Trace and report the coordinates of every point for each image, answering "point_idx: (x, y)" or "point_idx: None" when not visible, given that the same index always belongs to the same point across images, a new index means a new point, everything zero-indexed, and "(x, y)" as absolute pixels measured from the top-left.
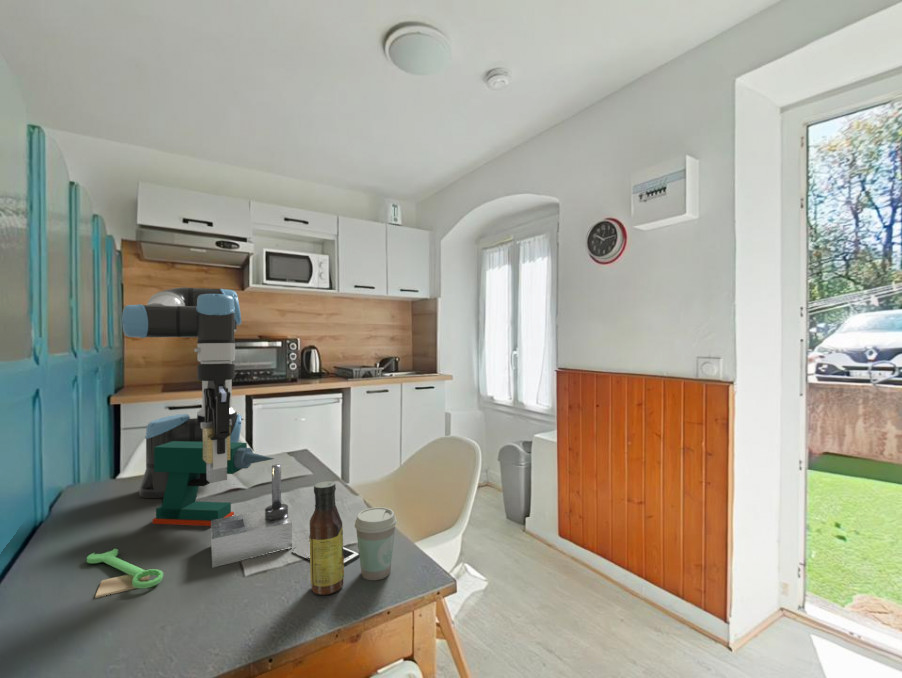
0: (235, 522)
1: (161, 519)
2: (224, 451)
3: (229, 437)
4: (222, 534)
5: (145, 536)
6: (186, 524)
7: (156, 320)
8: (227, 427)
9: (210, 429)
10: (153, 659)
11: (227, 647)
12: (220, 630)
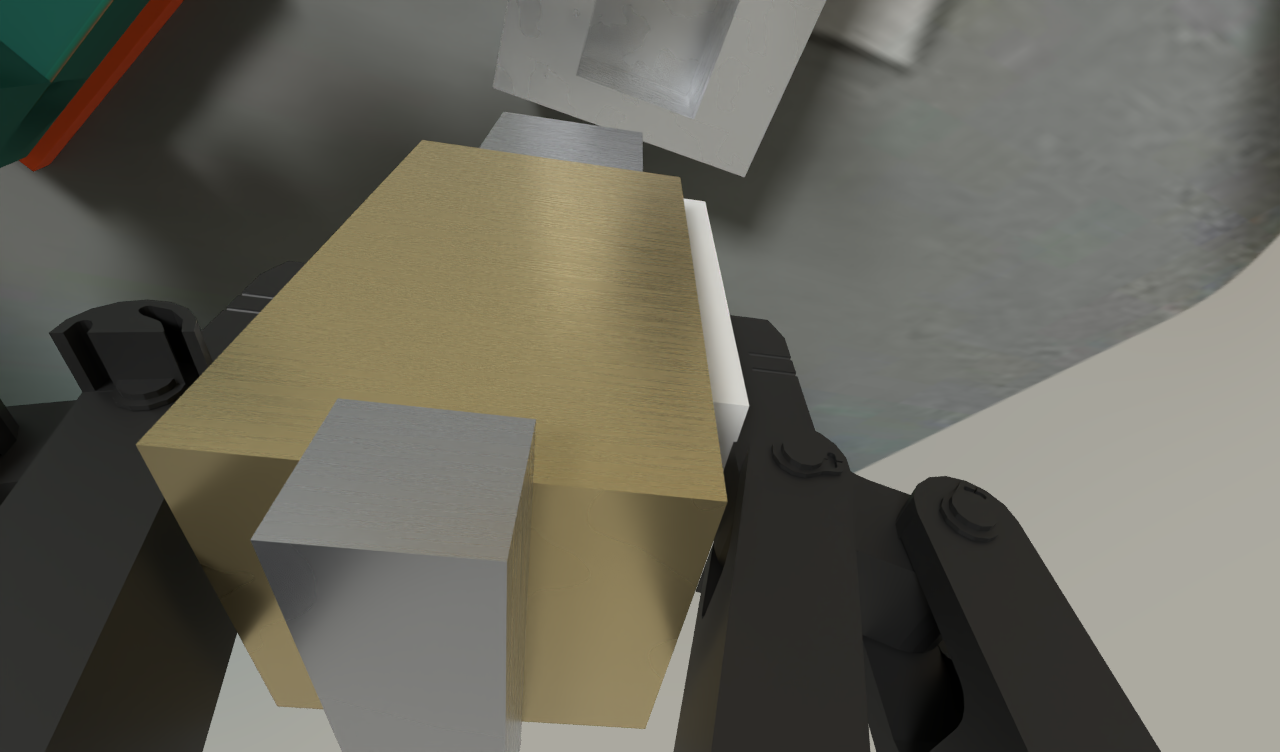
0: None
1: (52, 141)
2: (782, 344)
3: (698, 345)
4: (735, 121)
5: (220, 224)
6: (143, 47)
7: None
8: (1068, 674)
9: (651, 699)
10: (1009, 374)
11: (1160, 266)
12: (1085, 253)
